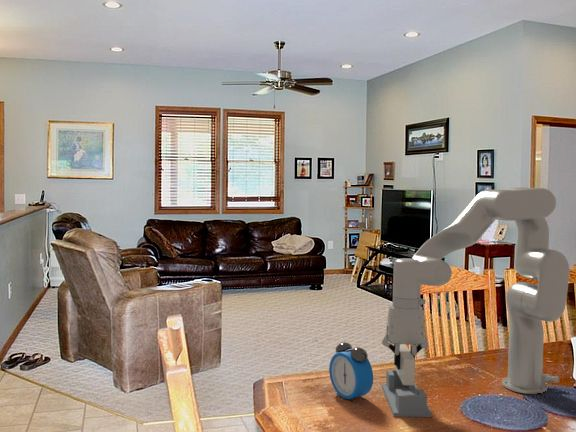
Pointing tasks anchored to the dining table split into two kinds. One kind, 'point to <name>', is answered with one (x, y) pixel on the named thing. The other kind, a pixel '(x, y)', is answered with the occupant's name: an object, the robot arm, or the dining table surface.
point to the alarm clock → (350, 371)
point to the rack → (405, 397)
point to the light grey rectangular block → (406, 366)
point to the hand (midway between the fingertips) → (404, 367)
